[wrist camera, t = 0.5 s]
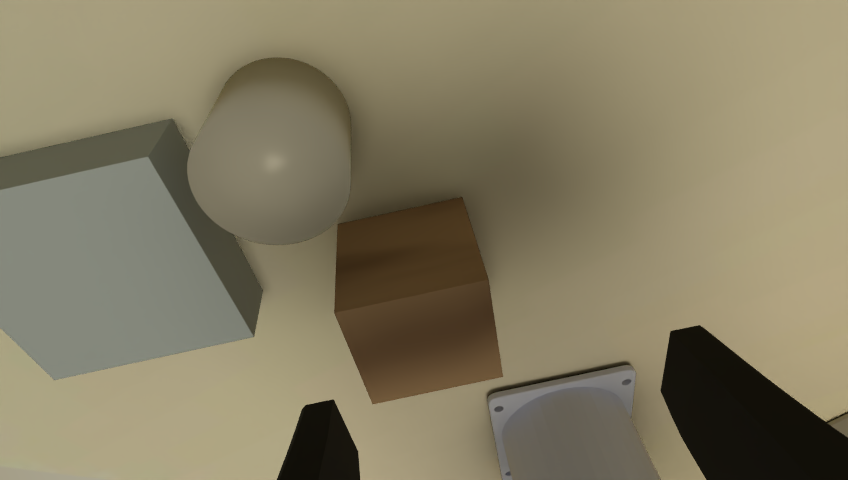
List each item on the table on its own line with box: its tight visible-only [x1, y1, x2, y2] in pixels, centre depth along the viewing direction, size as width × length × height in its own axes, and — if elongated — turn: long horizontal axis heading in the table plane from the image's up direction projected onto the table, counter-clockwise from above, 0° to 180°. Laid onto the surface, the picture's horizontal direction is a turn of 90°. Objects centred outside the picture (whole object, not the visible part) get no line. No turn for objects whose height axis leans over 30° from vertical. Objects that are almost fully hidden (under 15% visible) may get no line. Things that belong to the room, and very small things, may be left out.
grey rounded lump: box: [187, 58, 351, 245], centre depth 16 cm, size 4×4×4 cm
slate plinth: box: [0, 119, 263, 380], centre depth 19 cm, size 8×8×3 cm
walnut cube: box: [334, 197, 503, 404], centre depth 20 cm, size 5×5×5 cm
